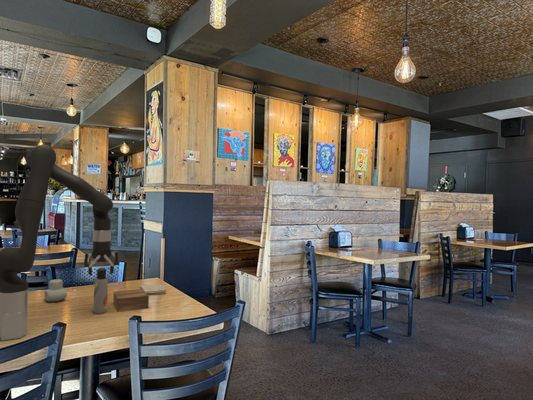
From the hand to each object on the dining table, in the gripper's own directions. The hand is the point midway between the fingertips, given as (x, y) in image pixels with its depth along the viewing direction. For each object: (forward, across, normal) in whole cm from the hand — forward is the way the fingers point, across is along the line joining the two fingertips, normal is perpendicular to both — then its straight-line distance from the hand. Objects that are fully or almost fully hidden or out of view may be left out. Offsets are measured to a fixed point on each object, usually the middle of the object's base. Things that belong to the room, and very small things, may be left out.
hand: (101, 274), depth 170 cm
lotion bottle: (+17, 0, 0) cm, 17 cm away
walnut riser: (+17, +14, +3) cm, 22 cm away
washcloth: (+18, +30, +27) cm, 45 cm away
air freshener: (+18, -18, +28) cm, 37 cm away
